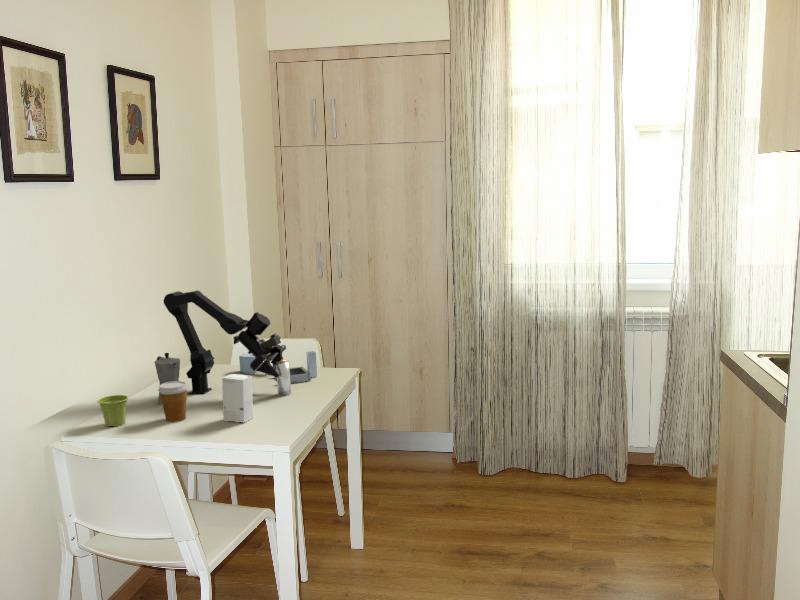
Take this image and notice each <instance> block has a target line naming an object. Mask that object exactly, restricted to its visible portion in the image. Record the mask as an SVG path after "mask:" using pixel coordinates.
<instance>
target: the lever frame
mask: <svg viewBox="0 0 800 600" xmlns="http://www.w3.org/2000/svg"><path fill="white" fill-rule="evenodd" d="M238 358H239V370H240V371H239V373H240V372H244V373H252V374H251V375H256V374H257V371H256V370H255V371H253V370H252V369H251V368H250V364H251V362H252V361H253V360H254V359H255V358H256V357H255V356H254V355H253V354H252V353H251V354H249V353H248V352H247V353H246V352H245V353H242V354H241V355H239V356H238ZM272 367H273V368H274V369H275V370H276V365H274V364H272ZM244 373H243V374H244ZM255 373H256V374H255Z"/></svg>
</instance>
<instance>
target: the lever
mask: <svg viewBox="0 0 800 600" xmlns="http://www.w3.org/2000/svg"><path fill="white" fill-rule="evenodd" d="M280 346H281V347H282V348H283V349H282V350H283V352H284V351H286V350H287V346H286V345H285V344H282V345H280Z"/></svg>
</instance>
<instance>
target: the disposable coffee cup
mask: <svg viewBox="0 0 800 600" xmlns="http://www.w3.org/2000/svg"><path fill="white" fill-rule="evenodd" d="M159 385H160V384H159ZM159 385H158V390H157V391H158V394H159V393H160V395H161V400H162V404H161V405H162V408H163V412H164V416H165V421H166V422H168V423H177V421H178V422H181V421H184V420H186V418H187V417H186V415H187V399H188V398H187V394H188V388H189V386H188V385H187V382H186V381H182V380H179V381H172V382H166V383H163V384H161V385H160V386H159Z"/></svg>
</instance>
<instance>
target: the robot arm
mask: <svg viewBox="0 0 800 600" xmlns="http://www.w3.org/2000/svg"><path fill="white" fill-rule="evenodd" d="M189 303H193V304H194V305H195V306H197V307H198V308H200V309H201V310H202V311H203V312H205V313H206V314H207V315H209V316H210V317H212V318H213V319H215V320H216V321H217V323H218V324H219V326H220V328H221V329H222V330H224V331H225V333H226V334H228V335H235V336H233V344H234V345H237V344H238V343H240V344H242V345H243V346H244V348H245V349H246V350H247V353H249V354H251V353H252V354H253V355H254V356H255V357H256V358H255V359H254V360H253V361H252V362H251V364H250V368H251V369H252V370H253V371H255V370H256V373H257V372H259V373H262V374H266V375H269V376H271V377H279V374H278V373H277V372H276V370H275V369H274V368H273V364H274V365H276V362H279V361H280V360H281V359H284V357H283V352H284V351H283V350H282V349H283V348H282V347H281V346H282V345H280V344H282V341H281V336H280V335H278V334H276V333H273V334H271V335H270V338H269V339H267V340H265V339H264V338H261V339H260V338H259V337H258V336H261V335H262V334H263V333H264V332H265V331H266V329H268V327H269V326H270V325H271V321H270V319H269V318H268V317H267V316H266V315H264V314H261V313H259V312H258V311H256V312H254V313H253V314H252V316H251V318H249V320H248V319H243V318H242V317H241V316H239V315H237V314H235V313H232V312H229V311H226V310H224V309H223V308H222V307H220V305H218V304H217V303H215V302H214V301H212V300H211V299H210V298H208V296H206V295H204V294H203V293H202V291H200V290H194V291H193V290H192V291H187V292H182V291H179V290H177V291H174V292H169V293H167V294H166V295H165V296H164V298H163V304H164V306H165V308H166V309H167V311H168V313H169V314H171V315H172V316H173V317H174V318H175V320H176V322H177V324H178V325H177V326H178V327H179V329H180V332H181V334H182V336H183V338H184V341H185V343H186V345H187V348H188V350H189V353H190V355H189V357H190V358H189V361H190V365H191V367H190V368H189V369H188V371H186V374H185V375H186V376H187V378H188V379H191V390H190V391H188V394H202V395H203V394H207V393H208V392H210V391H211V390H213V388H212V387H209V382H208V381H209V380H208V374H210V373H211V370H212V369H213V367H214V365H215V361H214V360H215V357H214V356H213V354H212V351H211V349H208V350H207V349H206V348H204V347H203V344H202V342H201V340H200V337H199V335H198V333H197V331H196V328H195V326H194V324H193V321H192V320H191V317H190V315H189V312H188V311H189V310H188V308H189ZM244 329H245V330H244ZM239 332H240V333H239ZM236 334H238V335H236Z"/></svg>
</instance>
